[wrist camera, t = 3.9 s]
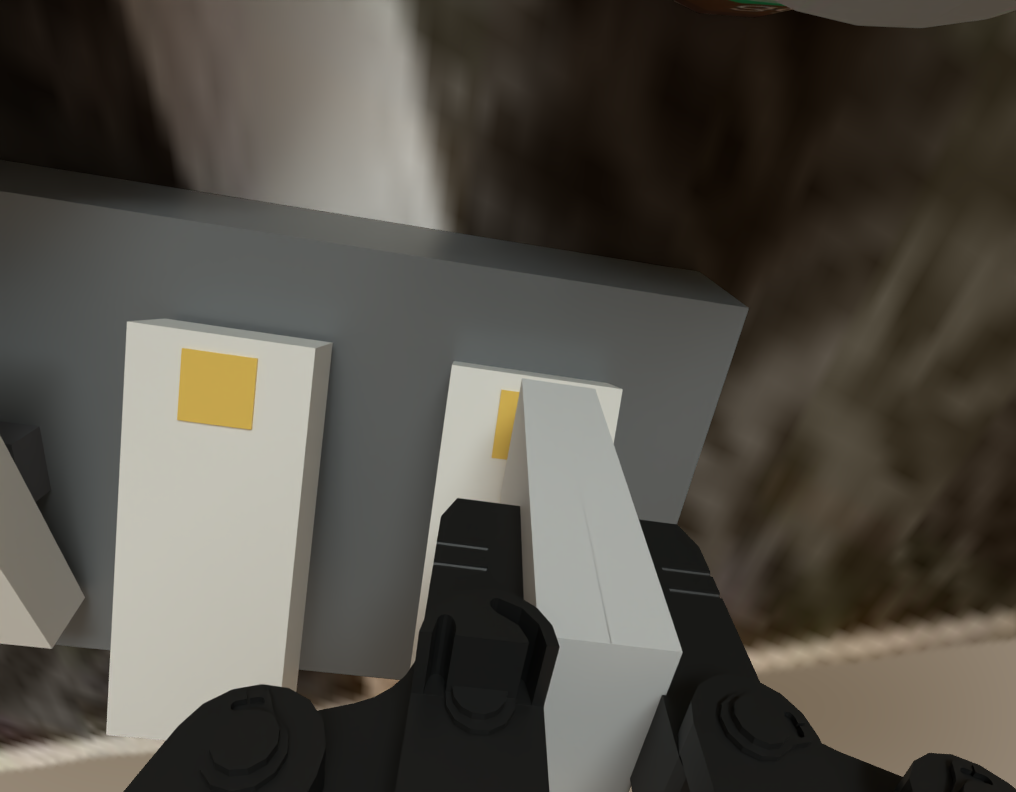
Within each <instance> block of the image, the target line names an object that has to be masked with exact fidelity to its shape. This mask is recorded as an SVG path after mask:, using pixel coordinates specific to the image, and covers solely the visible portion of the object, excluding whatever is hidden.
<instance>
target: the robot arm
mask: <svg viewBox="0 0 1016 792" xmlns="http://www.w3.org/2000/svg"><path fill="white" fill-rule="evenodd" d="M719 594H720V593H719V590H718V588H717V586H716V584H715V581H714V579H713V577H710V570H709V568H708V566H707V564H706V562H705V559H704V557H703V555H702V553H701V550H700V548H699V547H698V546H697V545H696V544H695V542H694V541H693V540H692V539H691V538H690V537H689V536H688V535H687V534H686V533H685V532H684V531H683V530H682V529H681V528H680V527H679V526H678V525H677V524H670V523H662V522H655V521H647V520H640V519H638V516H637V513H636V510H635V507H634V504H633V501H632V498H631V495H630V492H629V489H628V486H627V483H626V480H625V477H624V474H623V471H622V468H621V465H620V462H619V459H618V456H617V453H616V450H615V447H614V444H613V441H612V438H611V435H610V432H609V429H608V426H607V423H606V420H605V417H604V414H603V411H602V408H601V405H600V402H599V399H598V396H597V393H596V390H595V389H592V388H586V387H579V386H572V385H565V384H558V383H551V382H544V381H538V380H531V379H524V378H522V381H521V387H520V392H519V398H518V403H517V408H516V414H515V419H514V425H513V430H512V436H511V441H510V446H509V452H508V457H507V463H506V468H505V473H504V479H503V484H502V490H501V504H500V503H493V502H485V501H477V500H470V499H462V498H457V499H456V500H455V501H454V502H453V503H452V504H451V506H450V507H449V508H448V509H447V510H446V511H445V512H444V513H443V514H442V516H441V519H440V525H439V531H438V537H437V544H436V549H435V556H434V562H433V568H432V574H431V580H430V586H429V592H428V599H427V605H426V611H425V617H424V621H423V623H422V625H421V628H420V630H419V635H418V643H417V650H416V658H415V662H414V663H413V665H412V666H411V668H410V669H409V671H408V672H407V674H406V675H405V676H404V677H403V678H402V679H401V680H400V681H399V682H397V683H396V684H395V685H394V686H393V687H392V688H390V689H388V690H386V691H385V692H383V693H381V694H379V695H377V696H376V697H373V698H370V699H367V700H364V701H360V702H357V703H354V704H349V705H344V706H339V707H334V708H329V709H324V710H319V711H317V710H316V709H315V707H314V706H313V704H312V703H311V701H310V700H308V699H307V698H305V697H303V696H302V695H300V694H298V693H297V692H295V691H293V690H291V689H290V688H286V687H279V686H272V685H265V684H259V685H254V686H248V687H243V688H237V689H232V690H230V691H228V692H226V693H224V694H222V695H220V696H218V697H216V698H214V699H212V700H210V701H207V702H205V703H203V704H202V705H201V706H200V707H199V708H198V709H196V710H195V711H194V712H193V713H192V714H191V715H190V716H189V717H188V718H186V719H185V720H184V721H183V722H182V723H181V724H180V725H179V726H178V727H177V728H176V729H175V730H174V731H173V733H172V734H171V735H170V736H169V737H168V739H167V740H166V741H165V742H164V743H163V745H162V746H161V747H160V748H159V749H158V751H157V752H156V753H155V754H154V756H153V757H152V758H151V759H150V760H149V762H148V763H147V764H146V765H145V766H144V768H143V769H142V770H141V771H140V772H139V774H138V775H137V776H136V777H135V778H134V780H133V781H132V782H131V783H130V784H129V786H128V787H127V788H126V789H125V790H124V792H629V790H630V787H632V792H1016V789H1015V788H1014V787H1013V786H1011V785H1010V784H1009V783H1007V782H1005V781H1004V780H1002V779H1001V778H999V777H998V776H996V775H994V774H993V773H991V772H990V771H988V770H986V769H985V768H983V767H982V766H980V765H978V764H975V763H972V762H970V761H967V760H965V759H962V758H959V757H957V756H954V755H951V754H936V753H928V754H926V755H924V756H923V757H921V758H919V759H917V760H915V761H914V762H913V763H912V765H911V766H910V768H909V769H908V771H907V772H906V774H905V775H904V777H901V776H899V775H896V774H894V773H891V772H889V771H886V770H884V769H881V768H879V767H876V766H873V765H871V764H869V763H866V762H864V761H861V760H859V759H856V758H854V757H851V756H848V755H846V754H843V753H841V752H839V751H836V750H834V749H832V748H830V747H828V746H826V745H824V744H822V743H821V741H820V739H819V737H818V735H817V734H816V733H815V731H814V730H813V728H812V727H811V726H810V724H809V722H808V721H807V719H806V718H805V716H804V715H803V714H802V713H801V712H800V711H799V710H798V709H797V708H796V707H795V706H794V705H792V704H791V703H790V702H789V701H788V700H787V699H786V698H785V697H784V696H782V695H781V694H780V693H778V692H776V691H774V690H773V689H771V688H769V687H767V686H766V685H764V684H762V683H760V681H759V679H758V677H757V674H756V672H755V670H754V668H753V666H752V663H751V661H750V659H749V657H748V655H747V652H746V650H745V648H744V646H743V643H742V641H741V639H740V637H739V635H738V632H737V630H736V628H735V626H734V624H733V621H732V619H731V617H730V615H729V612H728V610H727V608H726V606H725V604H724V601H723V599H721V598H720V597H719Z"/></svg>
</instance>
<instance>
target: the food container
mask: <svg viewBox="0 0 1016 792" xmlns="http://www.w3.org/2000/svg"><path fill="white" fill-rule="evenodd" d="M673 1H675V2H677V3H679V4H681V5H683V6H685V7H687V8H689V9H691V10H693V11H695V12H697V13H702V14H714V15H727V16H740V17H753V18H755V17H760V16H765V15H769V14H774V13H779V12H784V11H789V10H795V11H799V12H803V13H807V14H811V15H815V16H820V17H824V18H828V19H832V20H836V21H840V22H845V23H849V24H853V25H857V26H879V27H902V28H927V27H935V26H942V25H949V24H956V23H963V22H970V21H978V20H985V19H990V18H993V17H996V16H999V15H1003V14H1006V13H1009V12H1012V11H1016V0H673Z"/></svg>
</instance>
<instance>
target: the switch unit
mask: <svg viewBox="0 0 1016 792" xmlns="http://www.w3.org/2000/svg"><path fill="white" fill-rule="evenodd" d="M748 309H749V308H748V307H747V306H745V305H744V304H743V303H741V302H740V301H739V300H737V299H736V298H735V297H733V296H732V295H730V294H729V293H728V292H726V291H725V290H724V289H722V288H721V287H720V286H718V285H717V284H715V283H714V282H713V281H711V280H710V279H709V278H707V277H706V276H705V275H703V274H702V273H701V272H698V271H691V270H685V269H679V268H673V267H666V266H660V265H654V264H648V263H641V262H635V261H629V260H623V259H616V258H610V257H604V256H598V255H592V254H585V253H579V252H573V251H567V250H560V249H554V248H548V247H542V246H535V245H529V244H523V243H517V242H510V241H504V240H498V239H492V238H485V237H479V236H473V235H467V234H460V233H454V232H448V231H442V230H435V229H429V228H423V227H417V226H410V225H404V224H398V223H392V222H385V221H379V220H373V219H367V218H360V217H354V216H348V215H342V214H335V213H329V212H323V211H317V210H310V209H304V208H298V207H292V206H285V205H279V204H273V203H267V202H260V201H254V200H248V199H242V198H235V197H229V196H223V195H217V194H210V193H204V192H198V191H192V190H185V189H179V188H173V187H167V186H160V185H154V184H148V183H142V182H135V181H129V180H123V179H117V178H111V177H104V176H98V175H92V174H86V173H79V172H73V171H67V170H61V169H54V168H48V167H42V166H36V165H29V164H23V163H17V162H11V161H4V160H0V436H1V438H2V439H3V441H4V443H5V445H6V447H7V449H8V451H9V453H10V455H11V457H12V459H13V461H14V462H15V464H16V466H17V468H18V470H19V472H20V474H21V476H22V478H23V480H24V482H25V484H26V485H27V487H28V489H29V491H30V493H31V495H32V497H33V499H34V501H35V503H36V505H37V507H38V508H39V510H40V512H41V514H42V516H43V518H44V520H45V522H46V524H47V526H48V528H49V529H50V531H51V533H52V535H53V537H54V539H55V541H56V543H57V545H58V547H59V549H60V551H61V552H62V554H63V556H64V558H65V560H66V562H67V564H68V566H69V568H70V570H71V572H72V574H73V575H74V577H75V579H76V581H77V583H78V585H79V587H80V589H81V591H82V593H83V595H84V596H85V598H84V600H83V601H82V603H81V605H80V606H79V608H78V609H77V611H76V612H75V614H74V615H73V617H72V618H71V620H70V622H69V623H68V625H67V626H66V628H65V629H64V631H63V632H62V634H61V636H60V637H59V639H58V640H57V642H56V643H55V645H64V646H74V647H83V648H93V649H103V650H111V631H112V611H113V591H114V571H115V551H116V531H117V510H118V490H119V470H120V450H121V430H122V410H123V390H124V370H125V350H126V330H127V321H139V320H152V319H172V320H179V321H185V322H192V323H199V324H206V325H213V326H220V327H227V328H234V329H241V330H248V331H255V332H262V333H269V334H276V335H283V336H290V337H297V338H304V339H311V340H318V341H325V342H331V343H333V344H332V354H331V363H330V373H329V382H328V392H327V402H326V411H325V421H324V430H323V440H322V450H321V459H320V469H319V478H318V488H317V497H316V507H315V517H314V526H313V536H312V545H311V555H310V565H309V574H308V584H307V593H306V603H305V613H304V622H303V632H302V641H301V651H300V661H299V670H308V671H317V672H327V673H337V674H347V675H357V676H366V677H376V678H386V679H396V680H401V679H402V678H403V677H404V676H405V675H406V674H407V672H408V671H409V669H410V666H411V658H412V651H413V644H414V636H415V629H416V622H417V615H418V607H419V600H420V593H421V586H422V578H423V571H424V564H425V557H426V549H427V542H428V535H429V528H430V520H431V513H432V506H433V498H434V491H435V484H436V477H437V469H438V462H439V455H440V448H441V440H442V433H443V426H444V419H445V411H446V404H447V397H448V390H449V382H450V375H451V368H452V364H453V362H454V361H458V362H465V363H472V364H479V365H486V366H493V367H500V368H507V369H513V370H520V371H527V372H534V373H541V374H548V375H555V376H562V377H569V378H576V379H583V380H590V381H597V382H604V383H609V384H611V385H614V386H616V387H618V388H621V389H623V391H622V397H621V402H620V408H619V414H618V420H617V426H616V432H615V438H614V447H615V450H616V453H617V456H618V459H619V462H620V465H621V468H622V471H623V474H624V477H625V480H626V483H627V486H628V489H629V492H630V495H631V498H632V501H633V504H634V507H635V510H636V513H637V516H638V519H640V520H647V521H655V522H662V523H670V524H677V522H678V519H679V516H680V513H681V510H682V507H683V504H684V501H685V498H686V495H687V492H688V489H689V486H690V483H691V480H692V477H693V474H694V471H695V468H696V465H697V462H698V459H699V456H700V453H701V450H702V447H703V444H704V441H705V438H706V435H707V432H708V429H709V426H710V423H711V420H712V417H713V414H714V411H715V408H716V405H717V402H718V399H719V396H720V393H721V390H722V387H723V384H724V381H725V378H726V375H727V372H728V369H729V366H730V363H731V360H732V357H733V354H734V351H735V348H736V345H737V342H738V339H739V336H740V333H741V330H742V327H743V324H744V321H745V318H746V315H747V312H748Z"/></svg>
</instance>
